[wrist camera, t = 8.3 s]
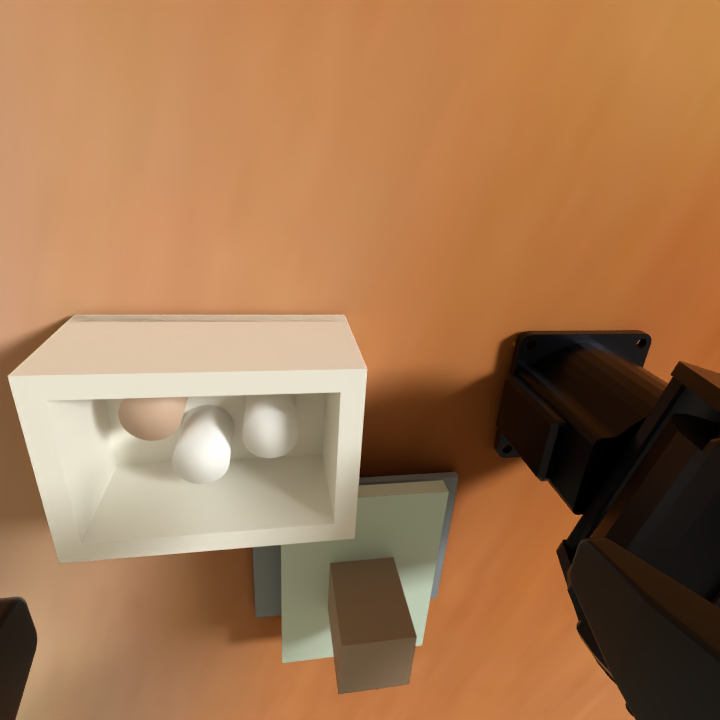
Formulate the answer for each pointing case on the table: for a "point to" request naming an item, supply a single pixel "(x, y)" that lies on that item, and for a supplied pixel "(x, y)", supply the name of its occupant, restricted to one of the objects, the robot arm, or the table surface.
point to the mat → (270, 556)
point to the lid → (366, 587)
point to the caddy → (193, 432)
